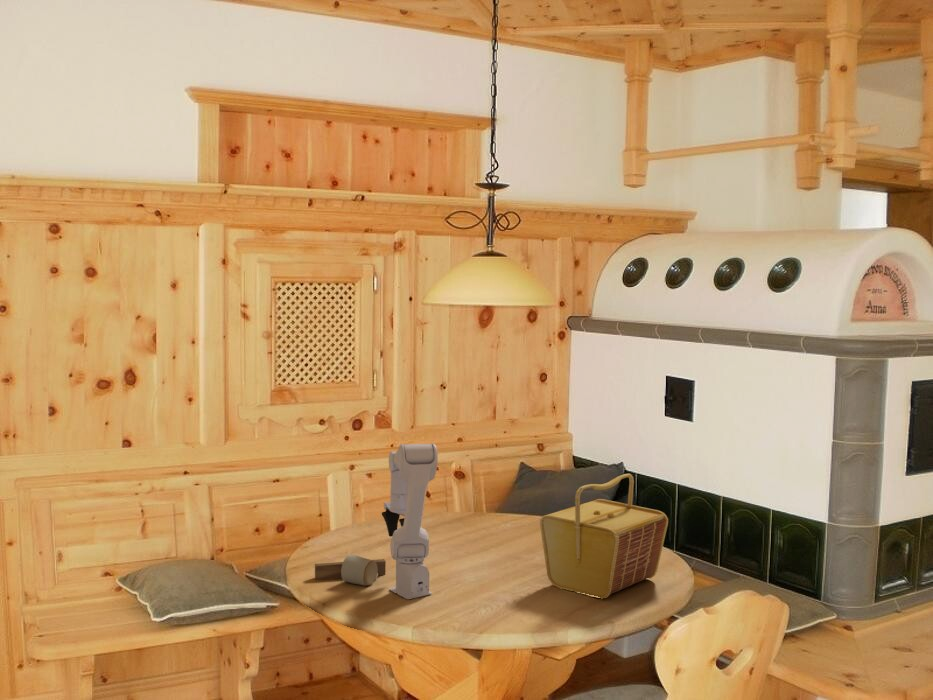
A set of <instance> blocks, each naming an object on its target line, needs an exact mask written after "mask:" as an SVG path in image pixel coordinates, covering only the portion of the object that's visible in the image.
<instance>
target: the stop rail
mask: <svg viewBox="0 0 933 700" xmlns="http://www.w3.org/2000/svg"><path fill="white" fill-rule="evenodd" d="M371 560H372V561H374V562H375V563H376V565H377V569H378V571H377V573H378V576H383V575H386V567H387V565H386V559H385V558H382V559H381V558H380V559H371ZM343 562H344V561H337V562H336V561H335V562H325V563H323V562H321V563H314V579H315V580H316V581H318V580H317V579H320V580H330V579H329V578H333V579H342V576H341V568H342V564H343Z"/></svg>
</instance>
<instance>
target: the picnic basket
mask: <svg viewBox="0 0 933 700" xmlns="http://www.w3.org/2000/svg"><path fill="white" fill-rule="evenodd" d="M626 478H628V479H629V480H628V481H629V485H628V496H627V503H623V502H619V501H613V500H608V499H605V498H604V499H603V498H598V499H595V500H591V501H588V502H585V503H584V502H583V503H581V494H582V492H583V491H585V490H587V489H593V490H595V491H603V490H608V489H610V488H613V487H615V486H616V485H617V484H619V483H620V482H621V481H622V480H623V479H626ZM634 485H635V480H634V476H633V475H632V474H631V473H624V474H621V475H618V476H616V477H615V478H612V479H611V480H610V481H608V482H605V483H602V484H601V483H600V484H599V483H598V484H597V483H590V484H585V485H582V486H580V487H579V488H578V489H577V490H576V491H575V497H574V505H575V506H571V507H568V508H565V509H561V510H558V511H555V512H552V513H549V514H545V515H543V516H542V517H541V518H540V519H539V528H540V534H541V541H542V548H543V554H544V560H545V568H546V569H545V570H546V574H547V578H548V581H550V583H551V584H552V585H553V586H554V587H556V588H558V589H560V588H563V589H562V590H564V589H566V590H565V591H567V590H570V591H569V592H571V591H575V592H580V593H585V594H589V595H594V596H598V597H600V598H605V599H607V598H608V597H609V596H611V595H612V594H614V593H617V592H619V591H621V590H624V589H626V588H628V587H630V586H633V585H634V584H637V583H639V582H643V581H644V580H647V579H646V578H649V579H652V578H653V577H655V576H656V574H657V572H658V569H659V564H660V559H661V556H662V551H663V548H664V543H665V538H666V533H667V530H668V526H669V517H668V516H667V515H666V513H665V512H663V511H661V510H658V509H653V508H648V507H642V506H640V505H639V506H638V505H634V504H633V498H634V497H633V496H634ZM575 592H574V593H575Z"/></svg>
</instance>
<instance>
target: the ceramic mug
mask: <svg viewBox="0 0 933 700" xmlns="http://www.w3.org/2000/svg"><path fill="white" fill-rule="evenodd" d="M372 560H373V559H369V558H366V557H362V556H358V555H355V554H352V553H351V554H349V555H347V556H345V558H344V559H343V561H342V562H343V564H342V568H341V576H342V578H341V579H342V581H343V582H345V583H350V584H355V585H360V586H366V587H367V586H371V585H372V584H373V583H374V582H375V581H376V579H378V576H379V575H378V573H377V571H378V569H377V565H376V563H375V562H374V561H372Z"/></svg>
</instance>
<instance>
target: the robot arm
mask: <svg viewBox="0 0 933 700" xmlns="http://www.w3.org/2000/svg"><path fill="white" fill-rule="evenodd" d="M438 455H439V452H438V447H437V445H436V444H435V443H432V442H431V443H417V444H416V443H415V444H414V443H412V444H411V443H410V444H402V443H400V445H399V446H398V448H397V451H393V450H390V451H389V454H388V469H389V471H390V500H389V501H386V502H383V510H385V511H381V515H382V518H383V520H384V522H385V525H386V529H387V532H388V536H389V537H391V539H390V556H391V558H392V559H393V560H394V561H395V564H396V565H395V586H393V587H389V591H390V590H391V591H390V592H392V593H395V594H396V593H397V594H396V595H398V596H400V597H401V598H404V599H406V600H412V599H417V598H421V597H425V596H429V595H432V591H430V571H429V569H428V567H427V566H425V563H424V562H425V559H426V558H427V557H428V556H429V552H430V545H429V543H430V539H429V538H430V537H429V533H428V531H427V529H425V528H423V527H422V520H423V515H424V514H423V513H424V506H425V501H426V495H427V494H426V493H427V489H428V485H429V483H430V482H431V481H432V480H434V479H435V477H436V474H437V468H438V463H439V460H438V459H439V457H438ZM400 516H403V518H400ZM398 524H400V527H399V528H398Z"/></svg>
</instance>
